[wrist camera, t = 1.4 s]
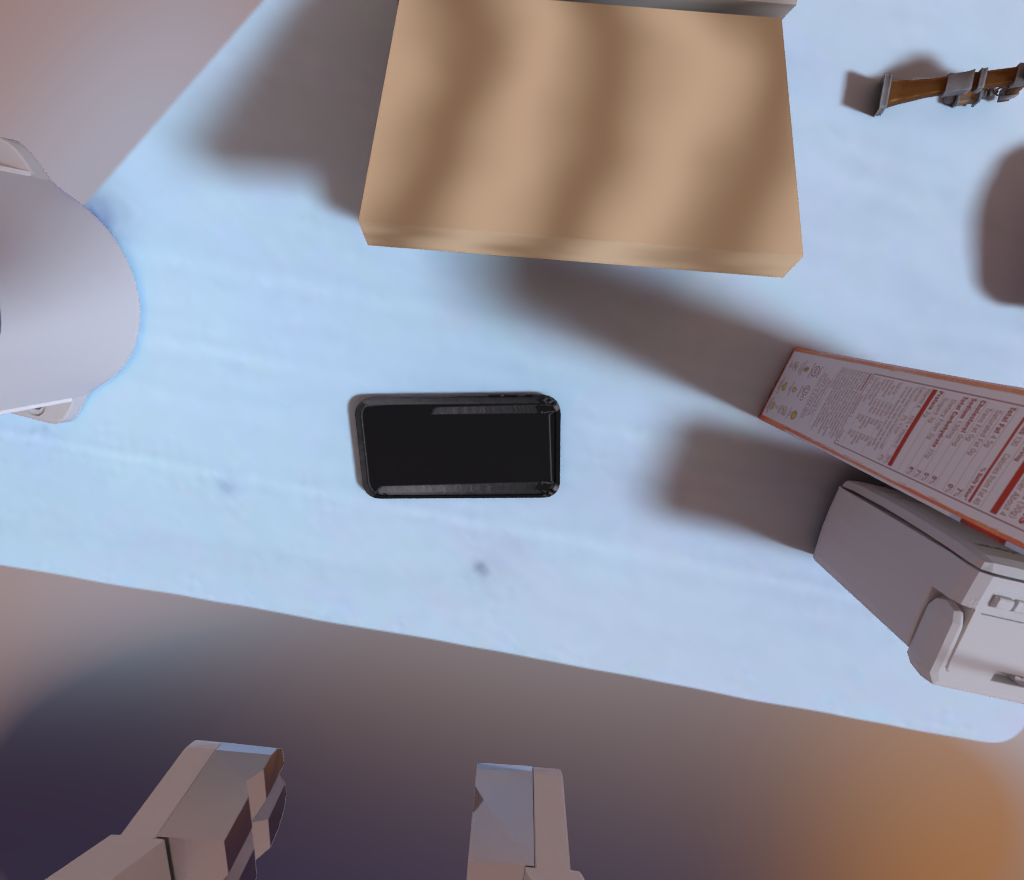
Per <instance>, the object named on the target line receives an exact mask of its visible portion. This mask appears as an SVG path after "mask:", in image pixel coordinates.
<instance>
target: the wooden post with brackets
mask: <svg viewBox="0 0 1024 880" xmlns="http://www.w3.org/2000/svg"><path fill="white" fill-rule="evenodd" d="M975 70H976V69H974V70H971V71H967V72H961V73H949V74H948V75H947V76H946V77H942V78H935V79H920V80H892V76H893V73H892V74H886V73H885V75H884V76H883V78H882V80H881V82H880V84H882V87H881V93H880V98H879V104H878V109H877V113H876V114H875V116H878V115H880V116H881V114H882V113H883V112H884V110H885V109H886V108H888V107H891V106H894V105H898V104H902V103H906V102H910V101H914V100H918V99H922V98H927V97H933V96H939V95H941V96H940V98H943V97H944V99H943V102H944V103H945V104H951V103H953V104H952V108H953V107H956V106H960V105H965V104H972V106H971V107H974V106H975V105H976V104H977V103H978V102H980V100H981V98H982V99H984V98H985V97H986V100H987V99H988V98H989V97H990V96H991V95H992V94H995V95H996V96H998V101H997V102H1004V101H1009V100H1010V99H1012V98H1014V97H1016V96H1017V95H1018V94H1019V91H1020V90H1021V89H1022V88H1024V63H1020V64H1019V65H1017V66H1016V67H1013V68H1005V69H998V70H990V71H988V68H981V70H980V71H979V72H975ZM996 87H999V88H997V89H996V90H995V91H994V88H996ZM1000 88H1002V90H1000V92H999V94H997V93H998V89H1000ZM993 92H994V93H993Z"/></svg>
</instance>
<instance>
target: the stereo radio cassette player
mask: <svg viewBox="0 0 1024 880" xmlns="http://www.w3.org/2000/svg"><path fill="white" fill-rule="evenodd" d="M842 485H843V486H839V489H838V491H837V493H836V495H835V497H834V500H833V502H832V504H831V506H830V508H829V511H828V513H827V516H826V518H825V521H824V523H823V526H822V529H821V532H820V535H819V538H818V542H817V545H816V548H815V552H814V555H813V557H814V559H815V561H816V562H817V563H818V564H819V565H820V566H822V567H823V568H824V569H825V570H826V571H827V572H828V573H829V574H830V575H831V576H832V577H833V578H835V579H836V580H837V581H838V582H839V583H840V584H841V585H842V586H843V587H844V588H845V589H846V590H848V591H849V592H850V593H851V594H852V595H853V596H854V597H855V598H856V599H857V600H859V601H860V602H861V603H862V604H863V605H864V606H865V607H866V608H867V609H868V610H869V611H870V612H872V613H873V614H874V615H875V616H876V617H877V618H878V619H879V620H880V621H881V622H882V623H883V624H884V625H886V626H887V627H888V628H889V629H890V630H891V631H892V632H893V633H894V634H895V635H896V636H897V637H898V638H900V639H901V640H902V641H903V642H904V643H905V644H906V645H907V646H908V647H909V649H908V651H907V653H908V656H909V659H910V662H911V664H912V665H913V667H914V668H915V669H916V670H917V672H918V673H919V674H920V675H921V676H922V677H923V678H925V679H926V680H928V681H929V682H930V683H932V684H934V685H938V686H943V687H948V688H952V689H957V690H962V691H966V692H971V693H976V694H980V695H985V696H989V697H994V698H999V699H1003V700H1008V701H1013V702H1017V703H1022V704H1024V555H1022V554H1020V553H1018V552H1017V551H1015V550H1013V549H1011V548H1009V547H1006V546H1004V545H1002V544H1000V543H998V542H996V541H994V540H993V539H991V538H989V537H987V536H985V535H983V534H981V533H979V532H977V531H976V530H974V529H972V528H970V527H968V526H966V525H964V524H962V523H960V522H958V521H957V520H955V519H953V518H951V517H949V516H947V515H945V514H943V513H941V512H939V511H938V510H936V509H934V508H932V507H930V506H928V505H926V504H924V503H922V502H921V501H919V500H917V499H915V498H913V497H911V496H909V495H907V494H905V493H904V492H902V491H900V490H895V489H891V488H887V487H883V486H878V485H874V484H870V483H865V482H859V481H845V482H844V483H843V484H842Z"/></svg>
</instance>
